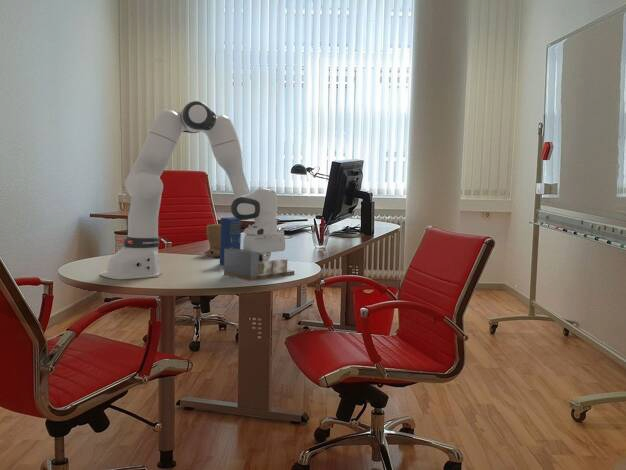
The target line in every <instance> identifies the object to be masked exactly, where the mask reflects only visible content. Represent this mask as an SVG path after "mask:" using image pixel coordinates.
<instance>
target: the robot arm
mask: <svg viewBox="0 0 626 470" xmlns="http://www.w3.org/2000/svg"><path fill="white" fill-rule="evenodd" d="M200 132H202V133H204V134H205V135H206V136H207V138H208V141H209V145H210V148H211V151H212V154H213V156H214V158H215V161H216V163H217V164H218V165H219V166H220V167H221V168H222V169H223V170H224V172H225V173H226V175H227V177H228V180H229V183H230V187H231V190H232V193H233V195H234V196H233V198H234V199H233V201H232V203H231V205H230V212H231V214H232V215H233V216H232V217H236V218H237V219H239V220H241V221H247V220H251V219H252V220H253V219H254V223H253V224H252V225H250V226H248V227H246V228H245V229H244V234H245V235H244V237H243V244H242V246H243V250H248V251H254V252H259V255H263V256H268V261H270V258H271V255H272V253H277V252H284V251H285V249H286V237H285V231H284V229H282V228H281V227H280V228H278V225H277V224H278V219H277V213H278V195H277V193H276V192H275V191H274V190H273V189H270V188H265V187H258V188H257V189H255V190H253V191H252V192H251V191H250V189H249V186H248V183H247V179H246V177H245V174H244V173H245V172H244V169H243V156H242V155H243V153H242V149H241V144H240V141H239V136H238V134H237V131H236V129H235V126H234V124H233V123H232V120H231V119H230V117H228V116H227V115H223V114H218V115H216V112H214V111H213V110H212V109H211V108H210V107H209V105H207V104H206V103H205V102H202V101H199V100H193V101H190V102H188V103H187V104H186V105H185V106H184V107H183V108H182V109H181V110H180V111H178V112H176V111H175V110H171V109H163V110H161V111H160V112H159V113H158V115H157V116H156V117H155V119H154V121H153V122H152V124H151V126H150V129H149V131H148V134H147V136H146V139H145V141H144V143H143V146H142V147H141V151H140V152H139V154H138V156H137V158H136V160H135V162H134V163H133V165H132V167H131V170H130V171H129V173H128V175H127V177H126V179H125V181H124V186H125V191H126V193H127V195H129V196H130V197H131V199H130V205H129V210H128V211H129V212H128V215H127V236H126V238H122V237H119V238H118V239H117V241H118V243H119V244H123V247H121V248H120V249H119V250H118V251H117V252H116V253H114V254H113V255H112V256H111V257H109V259H108V263H107V266H106V267H107V268H106V270H103V271H101V272H100V275H101V276H102V277H104V278H108V279H114V280H130V279H133V280H134V279H144V278H145V279H146V278H155V277H157V278H158V277H159V276H160V275H161V274H162V270H161V265H160V259H159V247H160V237H159V213H160V208H161V202H162V193H163V192H164V183H163V181H162V179H161V178H160V177H161V176H162V175H163V172H164V171H165V169H166V167H168V165H169V164H170V162H171V159H172V156H173V154H174V151H175V149H176V146H177V144H178V141H179V139H180V137H181V135H182V133H189V134H197V133H200Z"/></svg>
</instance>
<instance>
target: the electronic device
mask: <svg viewBox="0 0 626 470" xmlns="http://www.w3.org/2000/svg"><path fill="white" fill-rule="evenodd" d="M220 224H221V248H220V256H219V265H221V266H224V248H237V249H241V242H242V241H241V239H242V235H241V232H242V220H239V219H237V218H236V217H234V216H231V217H229V216H228V217H221V218H220Z"/></svg>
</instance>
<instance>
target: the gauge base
mask: <svg viewBox="0 0 626 470" xmlns="http://www.w3.org/2000/svg"><path fill="white" fill-rule="evenodd" d="M223 276H225V277H230V278H235V279H238V280H239V279H240V280H245V281H248V282H252V281H258V280H265V279H274V278H280V277H288V276H295V270H291V269H288V259H287V258H282V259H272V260H270V259H269V261H262V262H259V263H258V276H254V277H248V276H243V275H238V274H234V273H229V272H224V271H223Z"/></svg>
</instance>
